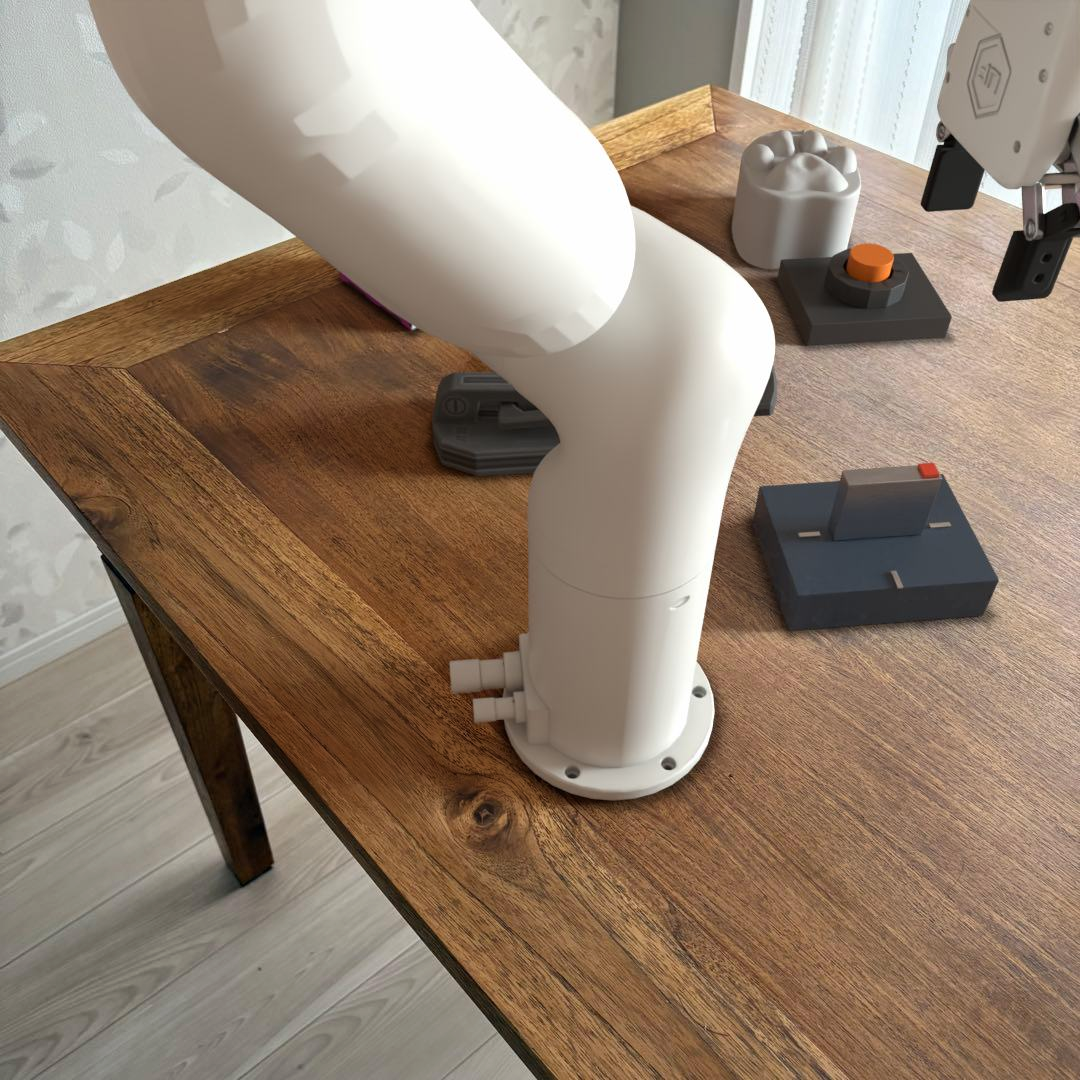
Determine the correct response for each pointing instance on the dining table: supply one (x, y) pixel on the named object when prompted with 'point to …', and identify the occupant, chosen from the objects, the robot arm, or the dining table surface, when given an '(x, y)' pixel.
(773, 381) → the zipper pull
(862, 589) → the lever switch base
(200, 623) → the dining table surface
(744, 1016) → the dining table surface
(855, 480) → the gray slab
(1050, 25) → the robot arm
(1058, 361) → the dining table surface
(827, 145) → the lumpy-topped squat cylinder
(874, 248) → the button
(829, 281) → the box
